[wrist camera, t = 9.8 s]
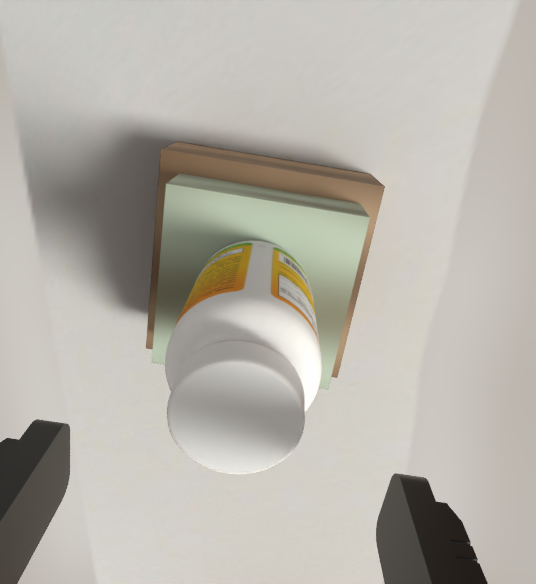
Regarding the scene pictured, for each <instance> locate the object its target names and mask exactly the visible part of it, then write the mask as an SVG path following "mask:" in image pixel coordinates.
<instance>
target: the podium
mask: <svg viewBox="0 0 536 584" xmlns="http://www.w3.org/2000/svg"><path fill="white" fill-rule="evenodd" d="M384 188H385V186H384V185H382V184H381V183H380V182H379V181H378V180H377V179H376V178H375V177H373V176H372V175H371V174H366V173H360V172H354V171H348V170H342V169H336V168H330V167H325V166H319V165H313V164H307V163H301V162H295V161H289V160H283V159H277V158H271V157H265V156H259V155H253V154H248V153H242V152H236V151H230V150H224V149H218V148H212V147H206V146H200V145H194V144H188V143H182V142H176V143H173V144H171V145H169V146H167V147H164V148H162V149H161V154H160V168H159V181H158V194H157V208H156V221H155V234H154V248H153V261H152V274H151V288H150V301H149V314H148V328H147V341H146V348H148V349H153V351H152V363H157V364H163V365H165V355H166V349H167V346H168V342H169V339H170V336H171V334H172V331H173V329H174V327H175V325H176V323H177V321H178V318H179V316H180V314H181V312H182V310H183V308H184V306H185V304H186V301H187V299H188V297H189V295H190V293H191V291H192V289H193V287H194V284H195V282H196V280H197V278H198V276H199V274H200V272H201V270H202V268H203V267H204V265H205V264H206V263H207V261H208V260H209V259H210V258H211V257H212V256H213V255H214V254H215V253H217V252H218V251H219V250H221V249H223V248H225V247H227V246H229V245H232V244H235V243H238V242H243V241H263V242H268V243H271V244H274V245H277V246H279V247H281V248H283V249H284V250H286V251H288V252H289V253H290V254H291V255H293V256H294V257H295V258H296V259H297V260H298V261H299V263H300V264H301V265H302V267H303V268H304V270H305V272H306V274H307V276H308V279H309V282H310V286H311V290H312V296H313V302H314V309H315V316H316V323H317V331H318V338H319V344H320V350H321V363H322V373H321V380H320V384H319V388H320V389H326V390H328V388H329V384H330V380H331V377H336V378H337V376H338V372H339V368H340V364H341V360H342V356H343V352H344V348H345V344H346V340H347V336H348V332H349V328H350V324H351V320H352V316H353V312H354V308H355V304H356V300H357V296H358V292H359V288H360V284H361V280H362V276H363V272H364V268H365V264H366V260H367V256H368V252H369V248H370V244H371V240H372V236H373V232H374V228H375V224H376V220H377V216H378V212H379V208H380V204H381V200H382V196H383V192H384Z"/></svg>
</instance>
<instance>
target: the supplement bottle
mask: <svg viewBox="0 0 536 584" xmlns="http://www.w3.org/2000/svg"><path fill="white" fill-rule="evenodd" d="M165 372H166V377H167V382H168V385H169V387H170V390H171V394H170V397H169V401H168V406H167V420H168V426H169V429H170V432H171V435H172V437H173V439H174V441H175V442H176V444H177V445H178V446H179V448H180V449H181V450H182V451H183V452H184V453H185V454H186V455H187V456H188V457H190V458H191V459H192V460H194V461H195V462H197V463H199V464H200V465H202V466H204V467H206V468H209V469H211V470H214V471H218V472H222V473H230V474H248V473H254V472H259V471H262V470H265V469H268V468H270V467H273V466H274V465H276V464H278V463H279V462H281V461H282V460H283V459H285V458H286V457H287V456H288V455H289V454H290V453H291V452H292V451H293V450H294V449H295V447H296V445H297V444H298V442H299V440H300V438H301V436H302V433H303V429H304V423H305V411H306V410H307V409H308V407H309V406H310V404H311V403H312V401H313V399H314V397H315V396H316V393H317V391H318V388H319V384H320V380H321V373H322V363H321V350H320V344H319V338H318V331H317V323H316V316H315V309H314V302H313V296H312V290H311V286H310V282H309V279H308V276H307V274H306V272H305V270H304V268H303V267H302V265H301V264H300V263H299V261H298V260H297V259H296V258H295V257H294V256H293V255H291V254H290V253H289V252H288V251H286V250H284V249H283V248H281V247H279V246H277V245H274V244H271V243H268V242H263V241H243V242H238V243H235V244H232V245H229V246H227V247H225V248H223V249H221V250H219V251H218V252H217V253H215V254H214V255H213V256H212V257H211V258H210V259H209V260H208V261H207V263H206V264H205V265H204V267H203V268H202V270H201V272H200V274H199V276H198V278H197V280H196V282H195V284H194V287H193V289H192V291H191V293H190V295H189V297H188V299H187V301H186V304H185V306H184V308H183V310H182V312H181V314H180V316H179V318H178V321H177V323H176V325H175V327H174V329H173V331H172V334H171V336H170V339H169V342H168V346H167V349H166V355H165Z"/></svg>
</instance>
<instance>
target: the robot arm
mask: <svg viewBox="0 0 536 584" xmlns="http://www.w3.org/2000/svg"><path fill="white" fill-rule="evenodd" d="M69 475H70V427H69V425H68V424H64V423H58V422H51V421H44V420H35V421H33V422H32V424H31V425H30V426H29V427H28V429H27V430H26V432H25V433H24V434H23V435H22V437H21V438H20V439H19V440H17V439H11V438H6V439H5V440H3V441H2V442H0V584H17V583H18V581H19V579H20V577H21V575H22V574H23V572H24V570H25V568H26V566H27V564H28V562H29V560H30V559H31V557H32V555H33V553H34V551H35V549H36V547H37V546H38V544H39V542H40V540H41V538H42V536H43V534H44V533H45V531H46V529H47V527H48V525H49V523H50V522H51V520H52V518H53V516H54V514H55V512H56V510H57V509H58V507H59V505H60V503H61V501H62V499H63V497H64V495H65V492H66V489H67V485H68V481H69ZM376 541H377V548H378V553H379V558H380V563H381V567H382V572H383V577H384V582H385V584H487V581H486V579H485V576H484V574H483V572H482V569H481V567H480V564H479V563H477V557H476V554H475V552H474V550H473V547H472V546H470V540H469V538H468V535H467V533H466V530H465V528H464V525H463V523H462V521H461V520H460V519H459V518H458V516H457V515H456V514H455V513H454V512H453V510H452V509H451V508H450V507H449V506H448V504H447V503H441V502H436V501H435V498H434V495H433V493H432V490H431V487H430V485H429V482H428V481H427V479H426V478H423V477H416V476H410V475H403V474H394V475H393V476H392V478H391V481H390V484H389V487H388V490H387V493H386V496H385V499H384V502H383V505H382V508H381V511H380V514H379V517H378V521H377V528H376Z"/></svg>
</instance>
